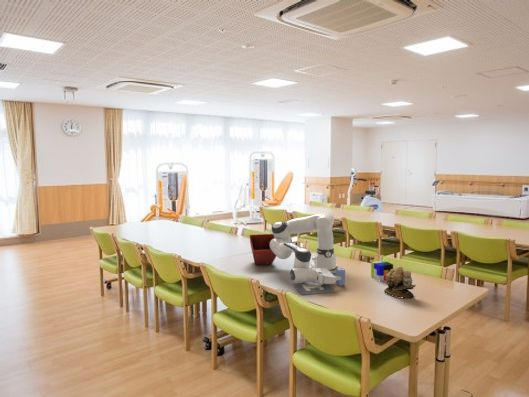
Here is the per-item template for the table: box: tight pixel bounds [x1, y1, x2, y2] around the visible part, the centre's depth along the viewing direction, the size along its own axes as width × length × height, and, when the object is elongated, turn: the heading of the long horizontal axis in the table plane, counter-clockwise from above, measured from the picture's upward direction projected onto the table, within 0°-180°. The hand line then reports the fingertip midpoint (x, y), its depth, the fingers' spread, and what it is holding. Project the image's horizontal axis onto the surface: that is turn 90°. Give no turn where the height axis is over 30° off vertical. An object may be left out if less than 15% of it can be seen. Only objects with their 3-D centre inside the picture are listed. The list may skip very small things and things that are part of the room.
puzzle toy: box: [370, 260, 394, 281], centre depth 255 cm, size 10×10×10 cm
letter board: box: [292, 282, 335, 296], centre depth 238 cm, size 20×20×1 cm
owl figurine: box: [383, 265, 417, 299], centre depth 225 cm, size 18×12×17 cm, turn 46°
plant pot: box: [249, 233, 277, 266], centre depth 293 cm, size 19×19×17 cm
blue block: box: [336, 267, 346, 287], centre depth 243 cm, size 4×4×10 cm
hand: (338, 275), depth 243 cm, fingers open, 8 cm apart
